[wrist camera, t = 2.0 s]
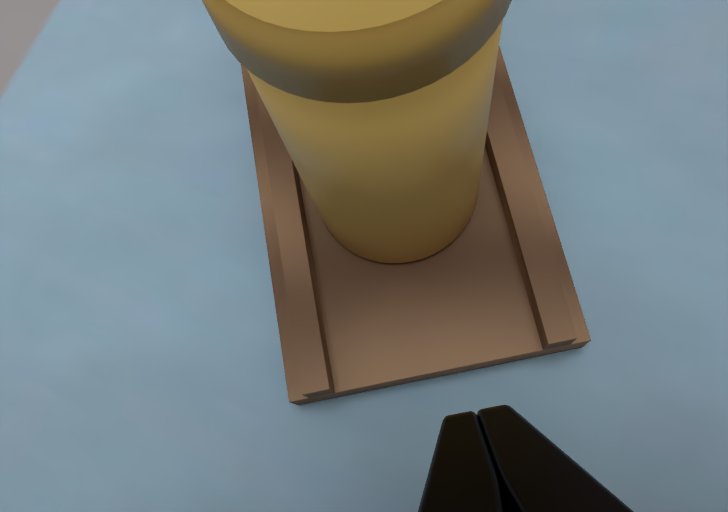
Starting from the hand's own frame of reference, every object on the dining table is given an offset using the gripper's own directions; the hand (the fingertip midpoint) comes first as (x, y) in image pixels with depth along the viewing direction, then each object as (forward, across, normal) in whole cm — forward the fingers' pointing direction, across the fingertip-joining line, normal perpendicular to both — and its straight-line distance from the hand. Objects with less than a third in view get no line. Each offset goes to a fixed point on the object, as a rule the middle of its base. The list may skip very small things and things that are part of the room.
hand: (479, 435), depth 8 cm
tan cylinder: (+13, 0, +1) cm, 13 cm away
